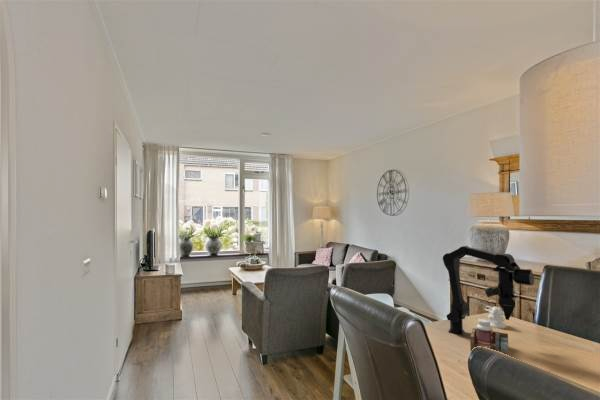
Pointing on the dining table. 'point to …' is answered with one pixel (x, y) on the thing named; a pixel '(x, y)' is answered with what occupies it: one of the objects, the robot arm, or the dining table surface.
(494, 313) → the figurine
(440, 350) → the dining table surface
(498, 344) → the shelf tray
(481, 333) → the pill bottle
